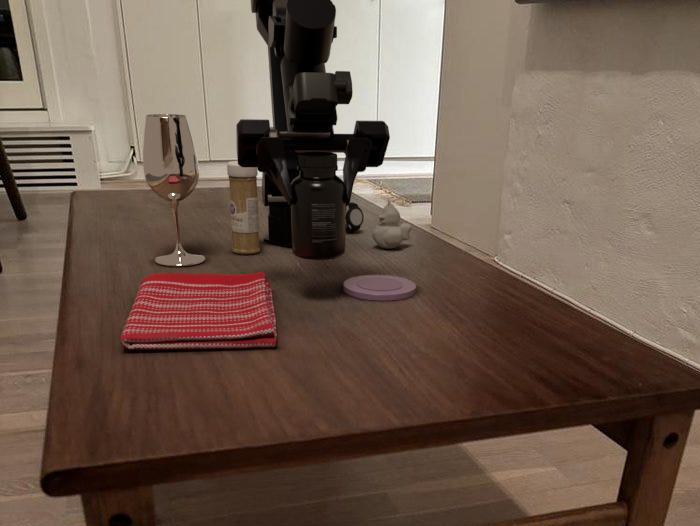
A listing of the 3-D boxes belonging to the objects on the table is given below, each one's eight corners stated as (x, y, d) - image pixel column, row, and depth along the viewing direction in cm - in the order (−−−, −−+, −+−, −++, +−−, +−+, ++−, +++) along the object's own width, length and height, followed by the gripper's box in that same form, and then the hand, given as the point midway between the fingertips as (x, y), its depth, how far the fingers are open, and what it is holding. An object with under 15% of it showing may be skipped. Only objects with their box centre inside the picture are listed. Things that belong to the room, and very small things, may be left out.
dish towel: (270, 289, 101) (270, 269, 99) (280, 349, 80) (279, 326, 79) (141, 291, 98) (139, 271, 97) (118, 354, 78) (114, 330, 77)
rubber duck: (368, 245, 125) (369, 195, 121) (404, 243, 127) (407, 194, 123) (377, 252, 121) (379, 201, 117) (415, 250, 122) (418, 200, 118)
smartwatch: (343, 235, 131) (344, 205, 129) (336, 229, 136) (336, 200, 133) (365, 234, 132) (366, 205, 130) (357, 228, 137) (358, 200, 134)
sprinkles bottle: (226, 251, 118) (220, 161, 112) (247, 247, 121) (243, 159, 115) (245, 256, 116) (240, 164, 109) (266, 252, 119) (263, 162, 112)
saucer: (373, 276, 108) (373, 270, 107) (430, 289, 102) (430, 283, 102) (328, 290, 101) (328, 283, 100) (386, 305, 95) (386, 298, 95)
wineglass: (194, 268, 109) (181, 118, 99) (145, 265, 110) (127, 116, 100) (213, 256, 115) (203, 114, 105) (167, 253, 117) (152, 112, 107)
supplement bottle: (352, 251, 97) (353, 152, 91) (335, 263, 91) (335, 159, 85) (303, 246, 98) (301, 148, 92) (283, 258, 93) (280, 155, 87)
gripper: (231, 41, 84) (243, 159, 81) (390, 46, 88) (407, 159, 84) (232, 111, 95) (242, 218, 92) (373, 113, 99) (388, 216, 95)
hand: (319, 202), depth 90 cm, fingers closed on supplement bottle, 7 cm apart
